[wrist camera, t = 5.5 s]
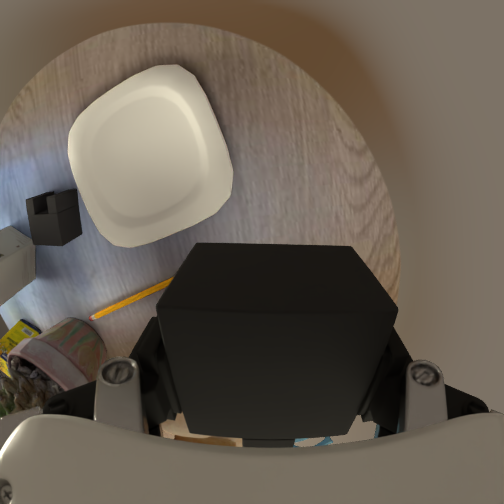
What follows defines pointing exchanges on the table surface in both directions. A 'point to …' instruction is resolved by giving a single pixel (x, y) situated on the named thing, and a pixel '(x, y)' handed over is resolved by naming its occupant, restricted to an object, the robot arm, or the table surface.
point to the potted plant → (51, 365)
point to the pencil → (131, 299)
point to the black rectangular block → (273, 339)
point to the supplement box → (15, 341)
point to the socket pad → (54, 218)
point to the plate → (150, 157)
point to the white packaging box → (15, 262)
